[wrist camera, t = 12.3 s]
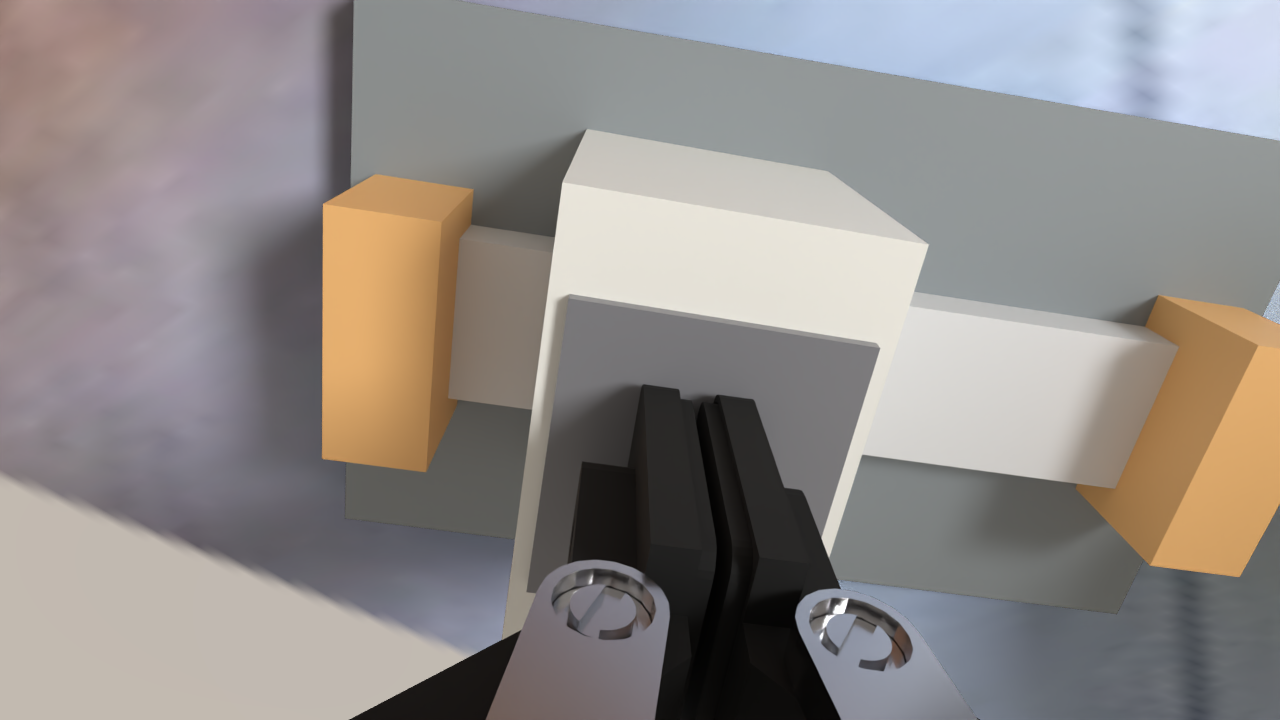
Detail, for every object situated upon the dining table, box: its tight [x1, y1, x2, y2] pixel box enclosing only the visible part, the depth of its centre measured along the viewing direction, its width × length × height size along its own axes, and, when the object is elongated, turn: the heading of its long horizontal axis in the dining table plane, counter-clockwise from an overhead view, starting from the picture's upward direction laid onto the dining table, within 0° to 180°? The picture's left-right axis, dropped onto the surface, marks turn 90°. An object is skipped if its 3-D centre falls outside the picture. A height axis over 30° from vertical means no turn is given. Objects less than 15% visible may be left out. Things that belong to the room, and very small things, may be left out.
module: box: [502, 129, 929, 640], centre depth 15 cm, size 5×8×6 cm, turn 170°
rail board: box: [322, 0, 1280, 614], centre depth 17 cm, size 20×12×4 cm, turn 81°
